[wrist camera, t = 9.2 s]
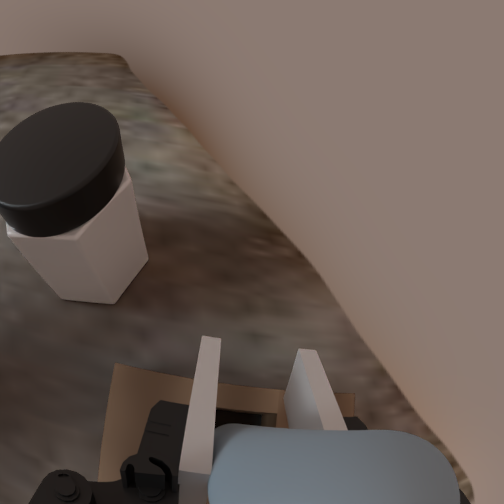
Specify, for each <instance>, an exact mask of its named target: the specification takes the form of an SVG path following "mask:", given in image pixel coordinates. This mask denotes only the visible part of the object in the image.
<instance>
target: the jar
mask: <svg viewBox="0 0 504 504" xmlns="http://www.w3.org/2000/svg"><path fill="white" fill-rule="evenodd" d="M0 214H1V215H2V217H3V218H4V219H5V221H6V228H7V235H8V237H9V238H10V240H11V241H12V242H13V243H14V245H15V246H16V247H17V248H18V250H19V251H20V252H21V253H22V255H23V256H24V257H25V258H26V260H27V261H28V262H29V263H30V264H31V265H32V267H33V268H34V269H35V270H36V271H37V272H38V274H39V275H40V276H41V277H42V278H43V279H44V280H45V282H46V283H47V284H48V285H49V286H50V287H51V288H52V289H53V290H54V292H55V293H56V294H57V295H58V296H59V297H60V298H61V299H64V300H73V301H83V302H93V303H104V304H115V303H116V301H117V300H118V299H119V297H120V296H121V295H122V294H123V292H124V291H125V290H126V288H127V287H128V286H129V284H130V283H131V282H132V280H133V279H134V278H135V276H136V275H137V274H138V273H139V271H140V270H141V269H142V267H143V266H144V265H145V264H146V262H147V261H148V259H149V257H148V253H147V249H146V245H145V240H144V236H143V232H142V227H141V223H140V218H139V214H138V209H137V204H136V199H135V194H134V189H133V184H132V179H131V177H130V175H129V173H128V171H127V168H126V166H125V159H124V153H123V148H122V142H121V136H120V129H119V125H118V123H117V120H116V119H115V117H114V116H113V115H112V114H111V113H110V112H109V111H108V110H106V109H105V108H103V107H101V106H98V105H95V104H91V103H84V102H73V103H65V104H60V105H56V106H52V107H49V108H46V109H44V110H42V111H39V112H37V113H35V114H33V115H32V116H30V117H28V118H26V119H25V120H23V121H22V122H21V123H19V124H18V125H17V126H15V127H14V128H13V129H12V130H11V131H10V132H9V133H8V134H7V135H6V136H5V137H4V138H3V139H2V140H1V141H0Z"/></svg>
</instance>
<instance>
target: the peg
mask: <svg viewBox="0 0 504 504" xmlns="http://www.w3.org/2000/svg"><path fill="white" fill-rule="evenodd" d="M207 490H208V498H209V504H460V492H459V486H458V482H457V478H456V475H455V473H454V471H453V469H452V466H451V464H450V463H449V461H448V460H447V459H446V457H445V456H444V455H443V454H442V453H441V452H440V451H439V450H438V449H437V448H436V447H435V446H434V445H432V444H431V443H429V442H428V441H426V440H424V439H422V438H420V437H418V436H416V435H413V434H409V433H406V432H402V431H394V430H305V429H288V428H275V427H263V426H254V425H245V424H236V423H231V424H225V425H222V426H219V427H217V428H216V429H214V443H213V459H212V470H211V474H210V476H209V480H208V486H207Z"/></svg>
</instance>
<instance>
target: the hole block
mask: <svg viewBox="0 0 504 504" xmlns="http://www.w3.org/2000/svg"><path fill="white" fill-rule="evenodd" d="M193 382H194V379H192V378H186V377H181V376H175V375H170V374H165V373H159V372H155V371H150V370H145V369H140V368H136V367H131V366H127V365H123V364H119V363H115V366H114V371H113V376H112V382H111V387H110V393H109V398H108V404H107V411H106V417H105V424H104V431H103V438H102V446H101V454H100V463H99V472H98V482H111V481H117V480H120V479H121V475H120V468H121V465H122V463H123V462H124V461H125V460H126V459H127V458H128V457H129V456H132V455H135V454H137V453H138V450H139V446H140V443H141V439H142V436H143V433H144V429H145V426H146V423H147V420H148V416H149V413H150V410H151V408H152V407H153V406H154V405H155V404H156V403H157V402H159V401H160V400H164V401H169V402H174V403H180V404H186V405H190V399H191V393H192V388H193ZM285 391H286V390H278V389H267V388H257V387H248V386H240V385H232V384H225V383H218V386H217V400H216V410H223V411H231V412H240V413H250V414H260V415H262V419H261V426H263V427H275V428H288V429H289V425H288V420H287V415H286V410H285V404H284V399H283V398H284V394H285ZM333 394H334V396H335V399H336V401H337V404H338V406H339V409H340V411H341V414H342V416H343V417H354V403H355V393H333ZM206 504H209V498H208V495H207V501H206Z"/></svg>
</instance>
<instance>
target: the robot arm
mask: <svg viewBox="0 0 504 504" xmlns="http://www.w3.org/2000/svg"><path fill="white" fill-rule="evenodd" d="M220 349H221V338H215V337H209V336H202V339H201V344H200V350H199V355H198V360H197V366H196V371H195V377H194V382H193V388H192V393H191V399H190V405H186V404H180V403H174V402H169V401H164V400H160V401H159V402H157V403H156V404H155V405H154V406H153V407H152V408H151V410H150V413H149V416H148V420H147V423H146V426H145V429H144V433H143V436H142V439H141V443H140V446H139V450H138V453H137V454H135V455H132V456H129V457H128V458H127V459H126V460H125V461H124V462H123V463H122V465H121V468H120V475H121V479H120V480H117V481H111V482H93V481H87V480H86V479H85V477H83V476H82V475H80V474H79V473H77V472H74V471H71V470H67V469H66V470H56V471H53V472H51V473H49V474H48V475H47V476H46V477H45V478H44V479H43V481H42V482H41V484H40V486H39V487H38V489H37V491H36V492H35V494H34V496H33V497H32V499H31V501H30V502H29V504H206V501H207V495H208V490H207V486H208V480H209V476H210V474H211V470H212V459H213V443H214V428H215V414H216V400H217V386H218V374H219V361H220ZM283 399H284V404H285V410H286V415H287V420H288V425H289V429H305V430H368V429H367V427H366V425H365V424H364V423H363V422H362V421H361V420H360V419H359V418H358V417H343V416H342V414H341V411H340V409H339V406H338V404H337V401H336V399H335V396H334V394H333V391H332V388H331V386H330V383H329V381H328V378H327V376H326V373H325V371H324V368H323V366H322V363H321V361H320V358H319V356H318V353H317V351H316V350H310V349H300V348H298V352H297V355H296V359H295V362H294V365H293V369H292V372H291V375H290V378H289V382H288V385H287V388H286V391H285V394H284V398H283ZM459 492H460V504H470V502H469V501H468V499H467V498H466V496H465V495H464V493H463V492H462V491H461V490H460V489H459Z"/></svg>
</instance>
